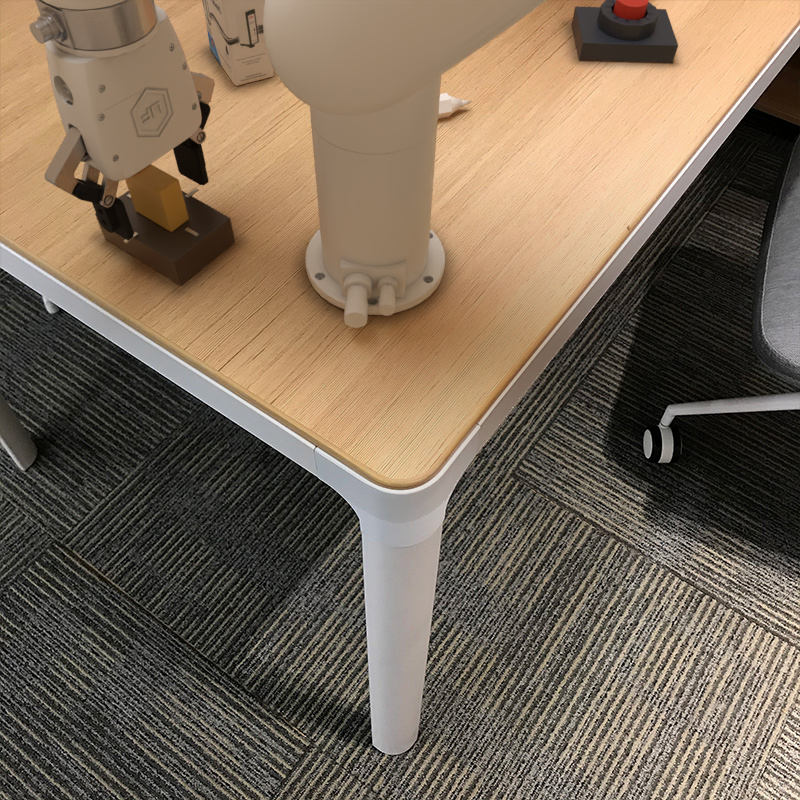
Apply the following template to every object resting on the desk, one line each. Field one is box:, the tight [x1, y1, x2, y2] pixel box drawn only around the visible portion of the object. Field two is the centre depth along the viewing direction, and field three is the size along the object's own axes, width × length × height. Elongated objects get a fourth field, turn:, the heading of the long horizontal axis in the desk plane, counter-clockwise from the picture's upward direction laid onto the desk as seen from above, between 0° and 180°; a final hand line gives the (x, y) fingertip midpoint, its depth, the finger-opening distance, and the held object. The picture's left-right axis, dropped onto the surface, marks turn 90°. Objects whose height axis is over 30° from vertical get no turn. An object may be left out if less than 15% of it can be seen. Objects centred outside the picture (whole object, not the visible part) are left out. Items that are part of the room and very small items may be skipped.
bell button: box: [613, 0, 650, 20], centre depth 88 cm, size 4×4×2 cm
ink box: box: [201, 0, 274, 87], centre depth 83 cm, size 9×5×12 cm, turn 27°
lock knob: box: [124, 163, 189, 232], centre depth 67 cm, size 5×2×5 cm, turn 54°
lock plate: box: [94, 187, 236, 287], centre depth 70 cm, size 10×9×3 cm
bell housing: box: [571, 0, 679, 64], centre depth 90 cm, size 8×11×4 cm
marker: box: [438, 92, 473, 120], centre depth 81 cm, size 3×2×16 cm
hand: (157, 203), depth 68 cm, fingers open, 8 cm apart
